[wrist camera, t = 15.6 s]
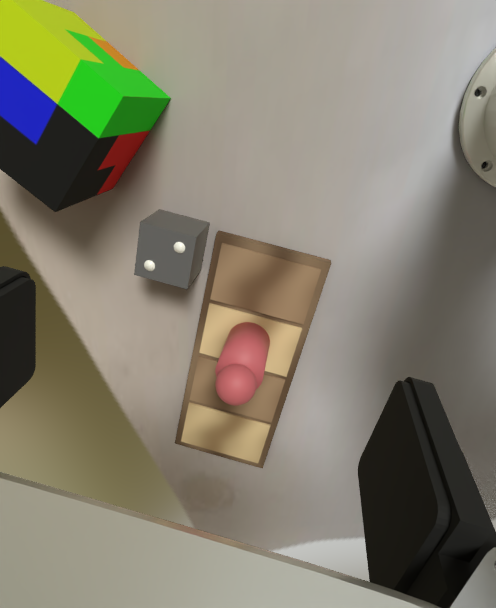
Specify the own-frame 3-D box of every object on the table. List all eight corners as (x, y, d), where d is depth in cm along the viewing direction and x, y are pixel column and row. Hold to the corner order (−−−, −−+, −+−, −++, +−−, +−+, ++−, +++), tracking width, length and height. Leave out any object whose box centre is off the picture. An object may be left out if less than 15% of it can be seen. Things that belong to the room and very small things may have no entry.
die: (210, 222, 41) (196, 237, 36) (201, 270, 43) (187, 289, 38) (159, 209, 41) (140, 222, 36) (153, 257, 43) (133, 275, 39)
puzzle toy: (23, 115, 39) (-65, 118, 30) (74, 12, 35) (-11, -20, 26) (112, 188, 41) (55, 211, 32) (171, 98, 37) (123, 96, 28)
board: (330, 260, 40) (330, 264, 39) (263, 461, 52) (262, 469, 51) (218, 230, 41) (216, 233, 40) (177, 437, 53) (174, 444, 52)
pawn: (274, 328, 43) (264, 383, 35) (264, 363, 45) (251, 423, 36) (232, 317, 43) (211, 368, 35) (224, 352, 45) (202, 410, 37)
